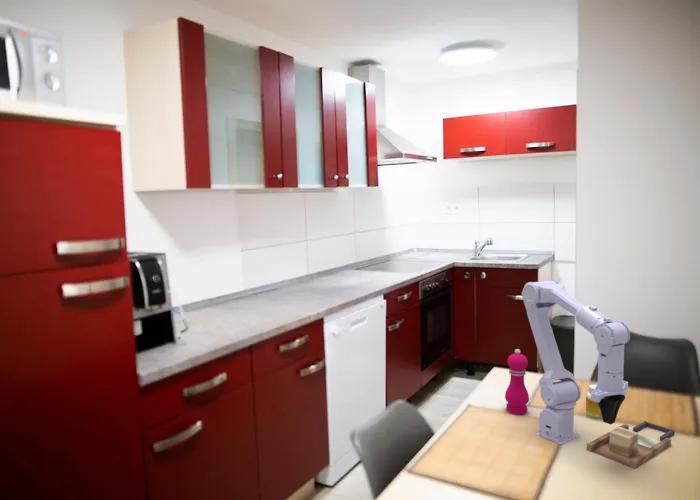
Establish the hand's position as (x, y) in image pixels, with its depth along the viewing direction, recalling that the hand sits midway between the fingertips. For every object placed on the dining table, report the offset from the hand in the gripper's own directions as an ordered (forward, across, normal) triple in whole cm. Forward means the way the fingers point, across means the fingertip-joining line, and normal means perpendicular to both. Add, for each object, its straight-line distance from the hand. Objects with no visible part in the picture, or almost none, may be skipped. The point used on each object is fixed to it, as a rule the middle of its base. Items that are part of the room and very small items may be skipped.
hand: (608, 422), depth 134 cm
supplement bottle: (+11, +23, +16) cm, 30 cm away
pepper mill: (+11, +9, +34) cm, 37 cm away
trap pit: (+10, +25, 0) cm, 27 cm away
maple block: (+10, +8, 0) cm, 13 cm away
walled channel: (+10, +11, 0) cm, 15 cm away
